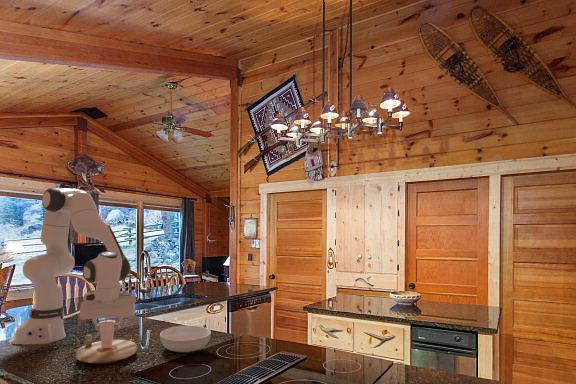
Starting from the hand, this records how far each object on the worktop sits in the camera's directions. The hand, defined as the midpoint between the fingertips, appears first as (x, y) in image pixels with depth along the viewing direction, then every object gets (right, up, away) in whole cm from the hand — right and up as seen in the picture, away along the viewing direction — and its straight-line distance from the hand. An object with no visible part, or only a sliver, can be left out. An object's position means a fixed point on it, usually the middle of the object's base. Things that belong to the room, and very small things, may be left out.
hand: (107, 328), depth 169 cm
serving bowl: (+28, -12, +10) cm, 32 cm away
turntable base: (0, -11, 0) cm, 11 cm away
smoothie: (0, -7, 0) cm, 7 cm away
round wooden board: (0, -9, 0) cm, 9 cm away
